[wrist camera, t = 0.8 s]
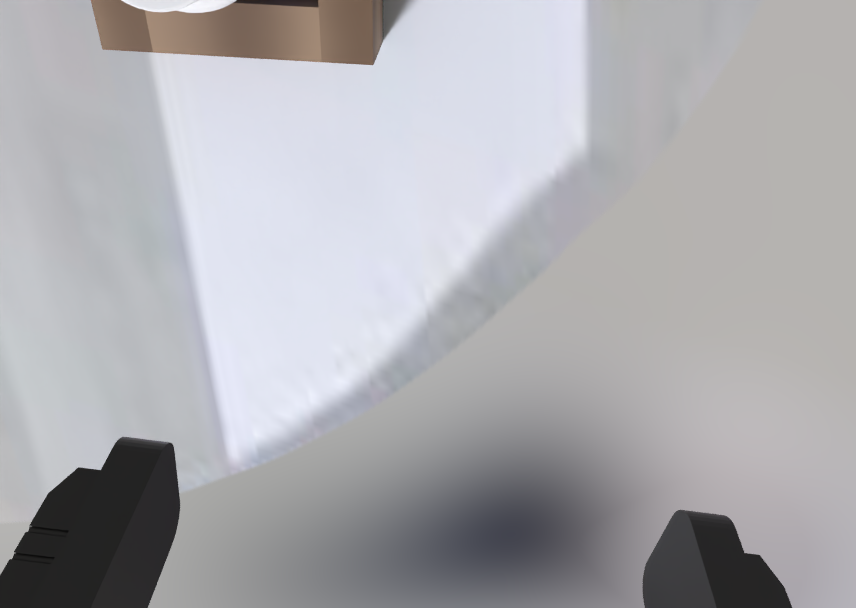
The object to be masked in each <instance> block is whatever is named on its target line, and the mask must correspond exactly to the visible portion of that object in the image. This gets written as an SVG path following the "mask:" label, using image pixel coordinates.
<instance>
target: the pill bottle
mask: <svg viewBox="0 0 856 608" xmlns="http://www.w3.org/2000/svg"><path fill="white" fill-rule="evenodd" d="M122 1H123V2H125V3H127V4H129V5H131V6H134V7H136V8H139V9H143V10H147V11H152V12H170V11H180V12H186V13H204V12H210V11H215V10H218V9H221V8H224V7H226V6H228V5H230V4H232V3H233V2H235V1H236V0H122Z"/></svg>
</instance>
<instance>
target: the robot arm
mask: <svg viewBox="0 0 856 608" xmlns="http://www.w3.org/2000/svg"><path fill="white" fill-rule="evenodd" d="M179 512H180V498H179V488H178V479H177V470H176V461H175V452H174V447H173V445H172V443H169V442H161V441H153V440H145V439H138V438H130V437H122V438H120V439H119V440H118V441H117V442H116V443H115V445H114V447H113V448H112V450H111V452H110V454H109V456H108V458H107V460H106V462H105V463H104V465H103V467H102V469H101V470H94V469H86V468H79V467H78V468H77V469H76V470H75V471H74V472H73V473H72V474H70V475H69V476H68V477H67V478H66V479H65V480H63V481H62V482H61V483H60V484H59V485H58V486H56V487H55V488H54V489H53V490H52V491H51V492H49V493H48V495H47V497H46V498H45V500H44V502H43V503H42V505H41V507H40V508H39V510H38V512H37V514H36V515H35V517H34V519H33V520H32V522H31V524H30V527H29V531H28V532H26V533H25V534H24V536H23V538H22V539H21V541H20V543H19V544H18V546H17V548H16V549H15V551H14V556H13V558H12V559H10V560H9V561H8V563H7V565H6V567H5V568H4V570H3V572H2V573H1V575H0V608H148V605H149V603H150V600H151V598H152V595H153V592H154V590H155V587H156V585H157V582H158V579H159V577H160V574H161V572H162V569H163V566H164V564H165V561H166V559H167V556H168V553H169V551H170V548H171V546H172V543H173V540H174V537H175V534H176V530H177V525H178V520H179ZM643 598H644V605H645V608H792V606H791V604H790V601H789V598H788V596H787V593H786V591H785V588H784V586H783V585H782V584H781V582H780V581H779V580H778V578H777V577H776V576H775V574H774V573H773V572H772V571H771V570H770V568H769V567H768V566H767V564H766V563H765V562H764V561H763V559H762V558H761V556H760V555H755V554H747V553H744V551H743V548H742V545H741V542H740V539H739V537H738V534H737V531H736V529H735V526H734V524H733V522H732V521H731V520H730V519H729V518H728V517H727V516H724V515H717V514H709V513H701V512H693V511H685V510H678V511H676V512H675V513H674V515H673V516H672V518H671V520H670V521H669V523H668V525H667V527H666V529H665V530H664V532H663V534H662V536H661V538H660V540H659V541H658V543H657V545H656V547H655V548H654V550H653V552H652V554H651V556H650V557H649V559H648V561H647V563H646V566H645V570H644V575H643Z"/></svg>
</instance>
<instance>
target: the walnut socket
mask: <svg viewBox="0 0 856 608" xmlns="http://www.w3.org/2000/svg"><path fill="white" fill-rule="evenodd" d="M91 3H92V7H93V11H94V15H95V20H96V24H97V28H98V32H99V36H100V41H101V45H102V49H104V50H121V51H138V52H156V53H173V54H190V55H208V56H225V57H242V58H260V59H277V60H294V61H312V62H329V63H346V64H363V65H374V62H375V60H376V57H377V55H378V52H379V50H380V47H381V45H382V42H383V0H236V1H235V2H233V3H232V4H230V5H228V6H226V7H224V8H221V9H218V10H215V11H210V12H204V13H186V12H180V11H170V12H152V11H147V10H143V9H139V8H136V7H134V6H131V5H129V4H127V3H125V2H123V1H122V0H91Z"/></svg>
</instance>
